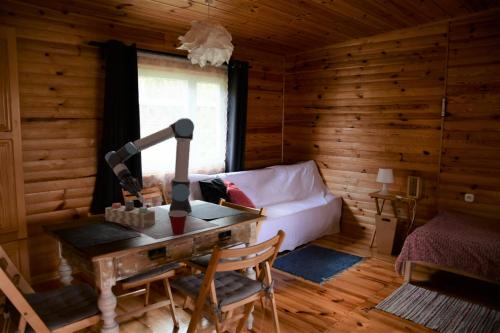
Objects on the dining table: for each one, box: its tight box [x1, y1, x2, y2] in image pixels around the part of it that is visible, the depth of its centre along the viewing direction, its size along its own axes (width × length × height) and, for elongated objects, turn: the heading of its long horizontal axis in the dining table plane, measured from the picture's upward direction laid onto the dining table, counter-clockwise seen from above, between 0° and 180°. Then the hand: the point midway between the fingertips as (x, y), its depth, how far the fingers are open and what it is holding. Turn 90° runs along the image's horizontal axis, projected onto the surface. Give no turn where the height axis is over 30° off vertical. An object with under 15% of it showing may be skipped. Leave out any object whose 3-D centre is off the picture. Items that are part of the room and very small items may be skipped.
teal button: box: [138, 206, 149, 213], centre depth 225 cm, size 5×5×5 cm
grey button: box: [124, 200, 135, 210], centre depth 231 cm, size 5×5×5 cm
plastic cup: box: [167, 211, 189, 236], centre depth 206 cm, size 11×11×12 cm
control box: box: [105, 205, 156, 228], centre depth 232 cm, size 33×10×8 cm, turn 59°
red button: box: [111, 202, 122, 209], centre depth 237 cm, size 5×5×5 cm
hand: (143, 201), depth 225 cm, fingers closed
